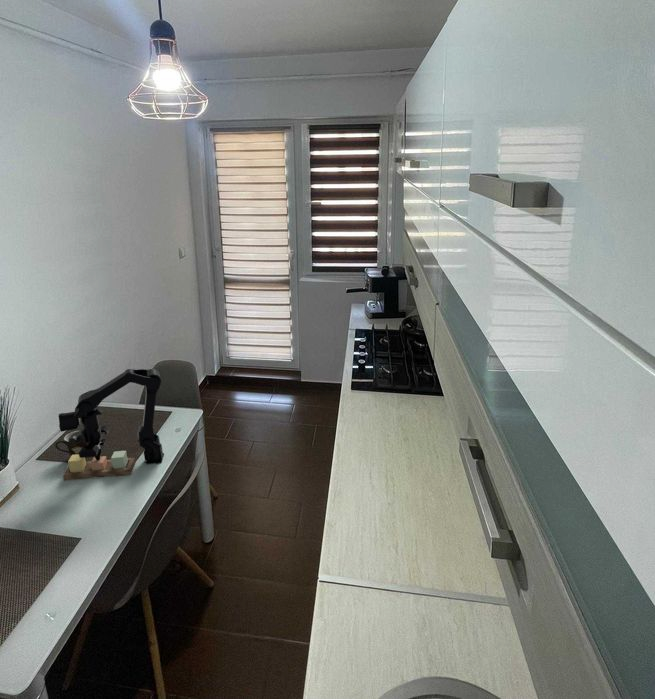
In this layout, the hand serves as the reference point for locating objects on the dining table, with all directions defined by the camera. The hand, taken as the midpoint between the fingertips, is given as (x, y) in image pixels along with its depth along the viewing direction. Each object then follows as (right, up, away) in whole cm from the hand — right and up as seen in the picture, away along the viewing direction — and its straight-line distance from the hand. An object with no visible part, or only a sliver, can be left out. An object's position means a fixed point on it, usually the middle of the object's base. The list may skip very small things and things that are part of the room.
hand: (98, 459), depth 194 cm
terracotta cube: (0, -5, +2) cm, 5 cm away
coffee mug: (-15, -2, +12) cm, 19 cm away
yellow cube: (-8, -3, 0) cm, 9 cm away
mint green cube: (+8, -3, +2) cm, 9 cm away
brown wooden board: (0, -5, +2) cm, 6 cm away
